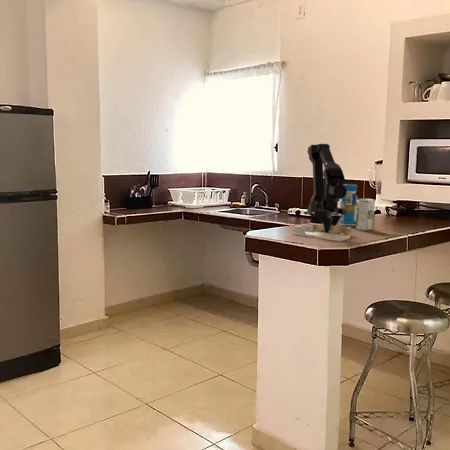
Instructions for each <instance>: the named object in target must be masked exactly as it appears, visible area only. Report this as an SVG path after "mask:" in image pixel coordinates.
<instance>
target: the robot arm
mask: <svg viewBox="0 0 450 450" xmlns="http://www.w3.org/2000/svg"><path fill="white" fill-rule="evenodd" d="M330 147H331V146H330V144H329V143H318V144H311V145H310V146H308V147H307V154H308V159H309V162H311V164H312V181H313V188H312V189H313V194H312V196H311V198H310V202H309V204H308V207H307V209H306V214H307V215H308V216H310V222H309V224H310V223H316V224H324V228H325V232H328V231H329V229H330V226H331V225H336V226H338V224H339V221H340V218H341V217H342V216H340V214H342V215H346V209H345V208H340V207H339V202H341V198H343V197H344V196H345V195H346V193H347V190H346V187H345V186H344V184H346V183H345V181H346V177H345V174H344V172H343V170H342V167H341V166H340V165H339V164H338V163H337V162H336V161H335V160H334V157H333V154H332V152H331V148H330ZM324 181H325V183H324ZM324 186H325V187H324ZM324 188H325V189H324Z"/></svg>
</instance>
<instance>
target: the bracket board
mask: <svg viewBox="0 0 450 450" xmlns="http://www.w3.org/2000/svg"><path fill="white" fill-rule="evenodd" d="M292 235H293V236H294V235H295V236H302V237H308V238H313V237H314V238H315V239H320V238H321V240H329V241H336V242H342V241H345V240H350V239H351V236H344V233H340V235H337V234H330V233H323V232H316V231H314V226H311V225H308V224H300V225H299V224H298V225H294V227H293V231H292Z"/></svg>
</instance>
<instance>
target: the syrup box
mask: <svg viewBox="0 0 450 450" xmlns="http://www.w3.org/2000/svg"><path fill="white" fill-rule="evenodd" d="M357 203H358V206H357V216H356V225H355V230H359V231H371V230H373V227H374V216H375V207H376V206H375V204H376V200H375V199H372V198H358V200H357Z"/></svg>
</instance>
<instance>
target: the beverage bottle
mask: <svg viewBox="0 0 450 450" xmlns="http://www.w3.org/2000/svg"><path fill="white" fill-rule="evenodd" d="M343 185H344V186H345V187H346V190H347V193H346V195H345V196H344V197H343V198H340V201H339V202H340V203H339V204H340V207H339V208H345V209H346V215H342V214H339V215H340V216H342V217H341V218H340V220H339V222H338V224H339V226H345V227H353V226H355V227H356V219H357V208H358V199H359V198H358V194H357V191H358V185H357V184H353V183H351V184H350V183H349V184H347V183H344V184H343Z"/></svg>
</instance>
